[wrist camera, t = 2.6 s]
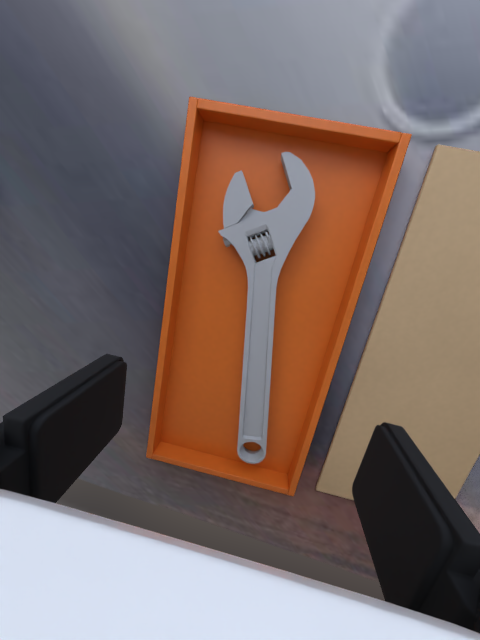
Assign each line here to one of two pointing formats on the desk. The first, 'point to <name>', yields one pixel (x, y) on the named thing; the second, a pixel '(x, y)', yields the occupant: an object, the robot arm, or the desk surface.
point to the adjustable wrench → (263, 285)
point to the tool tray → (291, 292)
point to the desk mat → (424, 337)
